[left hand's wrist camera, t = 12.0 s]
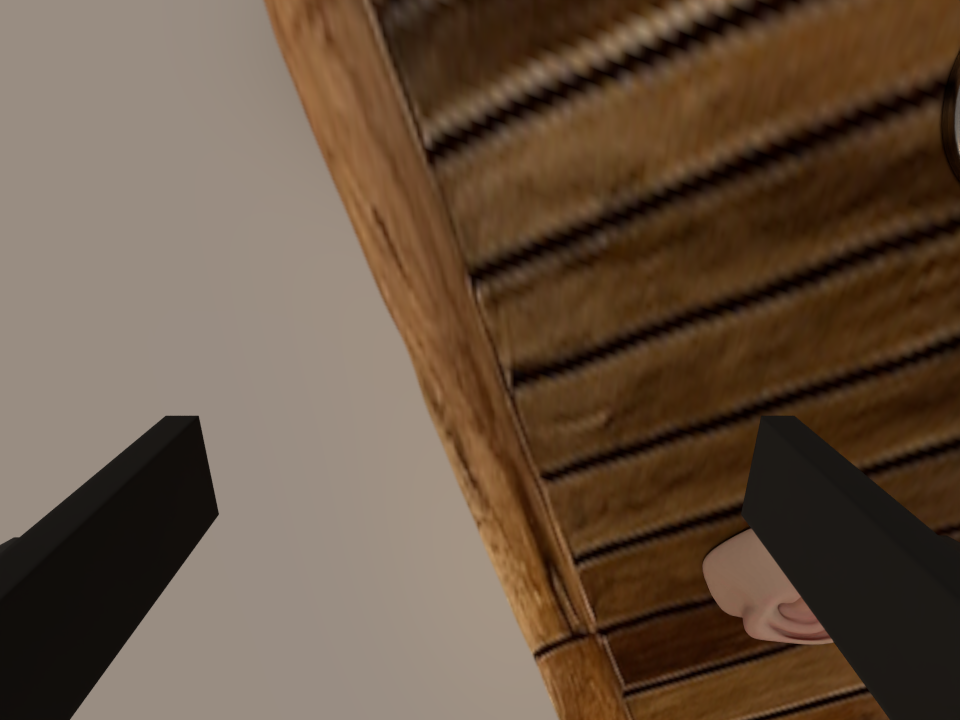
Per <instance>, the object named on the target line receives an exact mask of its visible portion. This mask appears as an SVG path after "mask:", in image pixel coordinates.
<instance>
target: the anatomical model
mask: <svg viewBox="0 0 960 720" xmlns="http://www.w3.org/2000/svg"><path fill="white" fill-rule="evenodd" d="M703 573H704V577H705V580H706V582H707V585H708V587H709V590H710V592H711V594H712V596H713V598H714V599H715V601H716V602H717V604H718V605H719V606H720V608H721V609H722V610H723V611H725V612H726V613H728V614H730V615H733V616H738V617H743V624H744V628H745V630H746V632H747V633H748V634H749V635H750V636H751V637H753V638H756V639H761V640H769V641H778V642H787V643H797V644H825V643H833V640H832V639H831V638H830V636H829V635H828V633H827V632H826V631H825V629H824V628H823V626H822V625H821V624H820V622H819V621H818V620H817V618H816V617H815V615H814V614H813V613H812V611H811V610H810V609H809V607H808V606H807V604H806V603H805V602H804V600H803V599H802V598H801V596H800V595H799V593H798V592H797V591H796V589H795V588H794V587H793V585H792V584H791V582H790V581H789V580H788V578H787V577H786V575H785V574H784V573H783V571H782V570H781V569H780V567H779V566H778V564H777V563H776V562H775V560H774V559H773V558H772V556H771V555H770V553H769V552H768V551H767V549H766V548H765V547H764V545H763V544H762V542H761V541H760V540H759V538H758V537H757V536H756V534H755V533H754V531H753V530H752V529H751V528H750V529H748V530H746V531H744V532H742V533H740V534H738V535H736V536H734V537H732V538H731V539H729V540H727V541H725V542H724V543H722V544H721V545H719V546H718V547H716V548H715V549H713V550H712V551H711V552H710V553H709V554H708V555H707V556H706V558H705V559H704V562H703Z"/></svg>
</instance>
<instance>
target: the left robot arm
mask: <svg viewBox="0 0 960 720" xmlns="http://www.w3.org/2000/svg"><path fill="white" fill-rule="evenodd" d="M942 132H943V142H944V147H945V151H946V155H947V158H948V161H949V163H950V165H951V168H952V170H953V172H954V173H955V175H956V177H957V178H958V180H959V181H960V52H959V55H958V57H957V59H956V61H955V64H954V66H953V69H952V72H951V74H950V78H949V81H948V85H947V88H946V93H945V98H944V104H943V113H942ZM218 515H219V513H218V508H217V503H216V498H215V493H214V488H213V483H212V479H211V474H210V469H209V464H208V459H207V454H206V449H205V444H204V440H203V435H202V430H201V425H200V420H199V416H165V417H164V418H163V419H161V420H160V421H159V422H158V423H157V424H155V425H154V426H153V427H152V428H151V429H149V430H148V431H147V432H146V433H145V434H143V435H142V436H141V437H140V438H139V439H137V440H136V441H135V442H134V443H133V444H131V445H130V446H129V447H128V448H126V449H125V450H124V451H123V452H122V453H120V454H119V455H118V456H117V457H116V458H114V459H113V460H112V461H111V462H110V463H109V464H107V465H106V466H105V467H104V468H103V469H101V470H100V471H99V472H98V473H96V474H95V475H94V476H93V477H92V478H90V479H89V480H88V481H87V482H86V483H84V484H83V485H82V486H81V487H80V488H78V489H77V490H76V491H75V492H74V493H72V494H71V495H70V496H69V497H68V498H66V499H65V500H64V501H63V502H62V503H60V504H59V505H58V506H57V507H56V508H54V509H53V510H52V511H51V512H50V513H48V514H47V515H46V516H45V517H44V518H42V519H41V520H40V521H39V522H38V523H36V524H35V525H34V526H33V527H31V528H30V529H29V530H28V531H27V532H26V533H24V534H23V535H22V536H21V537H15V538H12V539H10V540H9V541H7V542H5V543H3V544H1V545H0V720H70V719H71V717H72V716H73V715H74V713H75V712H76V711H77V709H78V708H79V706H80V705H81V704H82V702H83V701H84V699H85V698H86V697H87V695H88V694H89V693H90V691H91V690H92V688H93V687H94V686H95V684H96V683H97V682H98V680H99V679H100V677H101V676H102V675H103V673H104V672H105V671H106V669H107V668H108V666H109V665H110V664H111V662H112V661H113V659H114V658H115V657H116V655H117V654H118V653H119V651H120V650H121V649H122V647H123V646H124V644H125V643H126V642H127V640H128V639H129V637H130V636H131V635H132V633H133V632H134V631H135V629H136V628H137V626H138V625H139V624H140V622H141V621H142V620H143V618H144V617H145V615H146V614H147V613H148V611H149V610H150V609H151V607H152V606H153V604H154V603H155V602H156V600H157V599H158V597H159V596H160V595H161V593H162V592H163V591H164V589H165V588H166V587H167V585H168V584H169V582H170V581H171V580H172V578H173V577H174V575H175V574H176V573H177V571H178V570H179V569H180V567H181V566H182V564H183V563H184V562H185V560H186V559H187V558H188V556H189V555H190V553H191V552H192V551H193V549H194V548H195V547H196V545H197V544H198V542H199V541H200V540H201V538H202V537H203V536H204V534H205V533H206V531H207V530H208V529H209V527H210V526H211V525H212V523H213V522H214V520H215V519H216V518H217V516H218ZM741 515H742V516H743V518H744V519H745V520H746V522H747V523H748V525H749V526H750V527H751V529H752V530H753V531H754V533H755V534H756V536H757V537H758V538H759V540H760V541H761V542H762V544H763V545H764V547H765V548H766V549H767V551H768V552H769V553H770V555H771V556H772V558H773V559H774V560H775V562H776V563H777V564H778V566H779V567H780V569H781V570H782V571H783V573H784V574H785V575H786V577H787V578H788V580H789V581H790V582H791V584H792V585H793V587H794V588H795V589H796V591H797V592H798V593H799V595H800V596H801V598H802V599H803V600H804V602H805V603H806V604H807V606H808V607H809V609H810V610H811V611H812V613H813V614H814V615H815V617H816V618H817V620H818V621H819V622H820V624H821V625H822V626H823V628H824V629H825V631H826V632H827V633H828V635H829V636H830V638H831V639H832V640H833V642H834V643H835V644H836V646H837V647H838V649H839V650H840V651H841V653H842V654H843V655H844V657H845V658H846V660H847V661H848V662H849V664H850V665H851V666H852V668H853V669H854V671H855V672H856V673H857V675H858V676H859V677H860V679H861V680H862V682H863V683H864V684H865V686H866V687H867V688H868V690H869V691H870V693H871V694H872V695H873V697H874V698H875V700H876V701H877V702H878V704H879V705H880V706H881V708H882V709H883V711H884V712H885V713H886V715H887V716H888V717H889V719H890V720H960V543H959V542H957V541H956V540H954V539H952V538H950V537H948V536H938V535H937V534H936V533H935V532H933V531H932V530H931V529H930V528H929V527H927V526H926V525H925V524H924V523H922V522H921V521H920V520H919V519H918V518H916V517H915V516H914V515H913V514H912V513H910V512H909V511H908V510H907V509H906V508H904V507H903V506H902V505H901V504H900V503H898V502H897V501H896V500H895V499H894V498H892V497H891V496H890V495H889V494H888V493H886V492H885V491H884V490H883V489H882V488H880V487H879V486H878V485H877V484H876V483H874V482H873V481H872V480H871V479H870V478H868V477H867V476H866V475H865V474H864V473H862V472H861V471H860V470H859V469H858V468H856V467H855V466H854V465H853V464H852V463H850V462H849V461H848V460H847V459H846V458H844V457H843V456H842V455H841V454H840V453H838V452H837V451H836V450H835V449H834V448H832V447H831V446H830V445H829V444H827V443H826V442H825V441H824V440H823V439H821V438H820V437H819V436H818V435H817V434H815V433H814V432H813V431H812V430H811V429H809V428H808V427H807V426H806V425H805V424H803V423H802V422H801V421H800V420H799V419H797V418H796V417H795V416H761V420H760V425H759V430H758V435H757V440H756V444H755V449H754V454H753V459H752V464H751V469H750V474H749V479H748V483H747V488H746V493H745V498H744V503H743V508H742V513H741Z"/></svg>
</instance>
